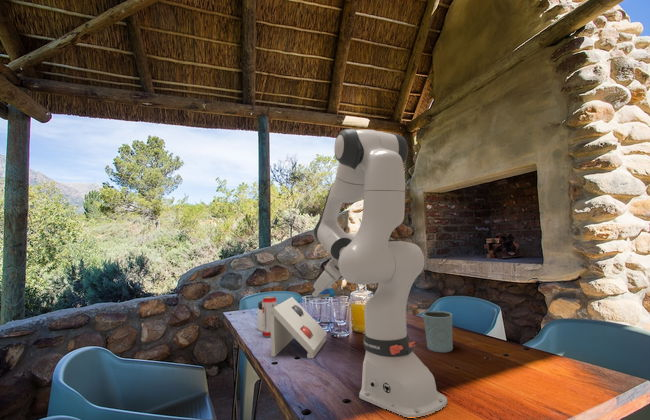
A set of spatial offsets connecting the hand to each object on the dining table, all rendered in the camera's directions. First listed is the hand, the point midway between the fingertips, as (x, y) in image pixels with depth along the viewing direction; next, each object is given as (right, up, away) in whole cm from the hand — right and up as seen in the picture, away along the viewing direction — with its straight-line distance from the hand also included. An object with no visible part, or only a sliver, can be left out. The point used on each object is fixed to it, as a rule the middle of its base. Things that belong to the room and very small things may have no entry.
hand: (314, 295), depth 130 cm
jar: (-22, -21, +22) cm, 37 cm away
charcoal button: (-7, -9, 0) cm, 11 cm away
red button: (-3, -14, -9) cm, 17 cm away
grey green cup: (+45, -16, -10) cm, 49 cm away
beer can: (-19, -20, +12) cm, 30 cm away
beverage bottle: (+5, -21, +32) cm, 39 cm away
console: (-5, -18, -5) cm, 20 cm away
